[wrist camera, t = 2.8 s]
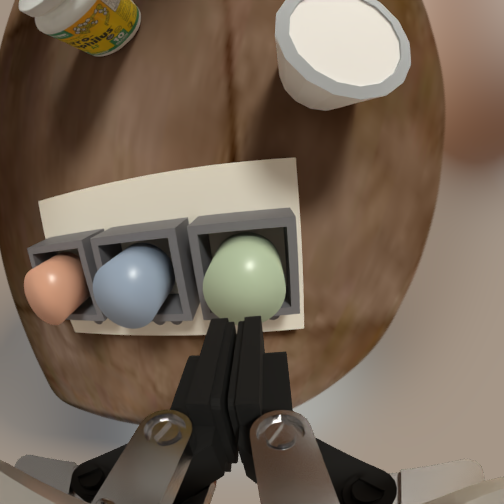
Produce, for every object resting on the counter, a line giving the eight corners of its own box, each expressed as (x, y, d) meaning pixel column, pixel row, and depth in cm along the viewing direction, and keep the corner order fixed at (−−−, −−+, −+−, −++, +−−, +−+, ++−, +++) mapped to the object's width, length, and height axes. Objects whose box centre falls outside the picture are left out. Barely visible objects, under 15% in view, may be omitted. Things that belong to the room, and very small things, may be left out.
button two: (112, 245, 17) (84, 264, 13) (168, 239, 17) (147, 258, 13) (127, 301, 18) (104, 327, 15) (180, 299, 18) (164, 328, 14)
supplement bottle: (145, -3, 14) (92, -64, 5) (140, 48, 16) (71, -6, 6) (89, 16, 14) (23, -25, 5) (82, 66, 16) (1, 36, 7)
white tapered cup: (382, 75, 16) (431, 46, 9) (330, 139, 18) (367, 129, 11) (307, 17, 15) (326, -35, 8) (248, 79, 16) (243, 37, 10)
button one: (46, 253, 17) (17, 270, 14) (83, 249, 17) (54, 267, 14) (61, 301, 18) (36, 323, 15) (98, 301, 18) (74, 326, 15)
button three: (209, 235, 16) (196, 254, 13) (278, 229, 16) (283, 247, 13) (218, 297, 18) (209, 327, 14) (282, 292, 17) (287, 322, 14)
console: (49, 198, 19) (14, 208, 15) (292, 157, 18) (302, 156, 14) (82, 324, 23) (58, 350, 19) (301, 317, 22) (309, 353, 17)
